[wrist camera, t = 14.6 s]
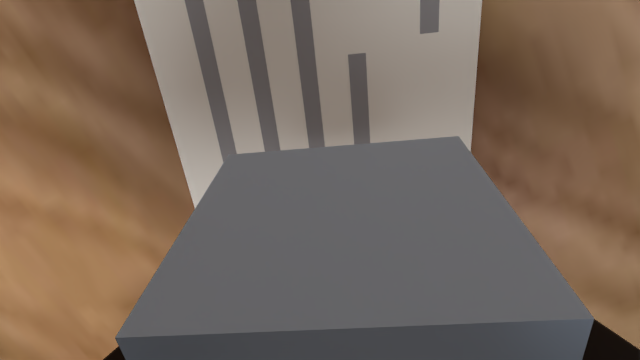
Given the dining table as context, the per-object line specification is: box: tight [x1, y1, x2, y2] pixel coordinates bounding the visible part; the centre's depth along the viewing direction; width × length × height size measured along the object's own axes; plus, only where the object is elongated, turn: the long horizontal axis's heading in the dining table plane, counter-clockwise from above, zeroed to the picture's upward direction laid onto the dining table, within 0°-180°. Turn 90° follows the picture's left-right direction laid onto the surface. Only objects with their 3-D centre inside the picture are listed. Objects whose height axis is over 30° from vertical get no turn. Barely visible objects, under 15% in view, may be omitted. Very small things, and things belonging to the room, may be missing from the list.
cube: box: [115, 136, 594, 360], centre depth 7 cm, size 5×5×5 cm
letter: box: [134, 0, 482, 208], centre depth 17 cm, size 13×17×1 cm
